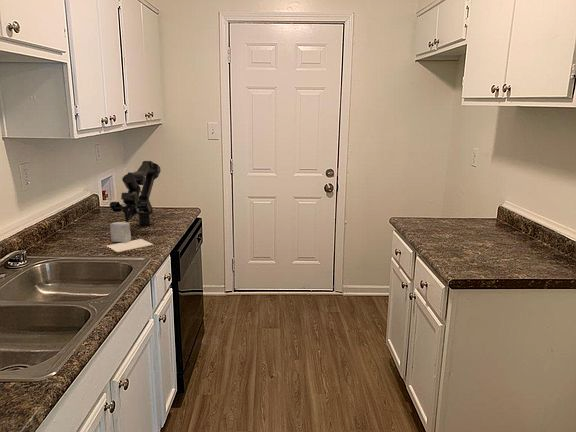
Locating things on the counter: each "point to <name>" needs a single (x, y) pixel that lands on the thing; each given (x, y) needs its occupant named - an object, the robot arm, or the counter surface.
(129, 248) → the pale rubber mat
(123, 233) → the medicine box
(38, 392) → the counter surface
